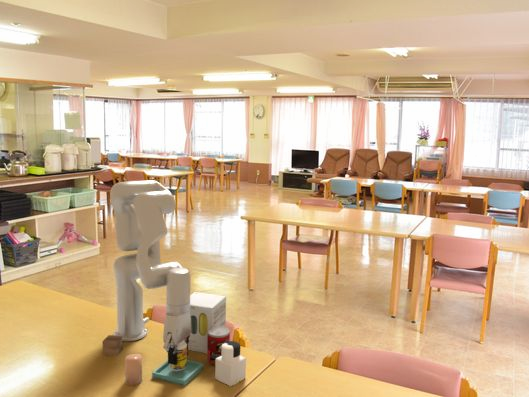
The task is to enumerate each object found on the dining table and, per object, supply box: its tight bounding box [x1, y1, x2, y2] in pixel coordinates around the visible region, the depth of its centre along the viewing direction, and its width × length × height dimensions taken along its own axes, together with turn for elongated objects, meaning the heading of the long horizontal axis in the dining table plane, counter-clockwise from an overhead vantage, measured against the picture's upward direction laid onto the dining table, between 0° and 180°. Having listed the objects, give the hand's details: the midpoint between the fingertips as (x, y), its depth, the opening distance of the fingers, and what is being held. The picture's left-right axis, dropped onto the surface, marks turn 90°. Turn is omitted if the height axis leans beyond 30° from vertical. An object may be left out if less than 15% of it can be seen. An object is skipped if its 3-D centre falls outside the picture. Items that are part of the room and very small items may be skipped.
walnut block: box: [102, 334, 123, 357], centre depth 168 cm, size 5×5×5 cm
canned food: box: [206, 326, 231, 366], centre depth 163 cm, size 8×8×11 cm
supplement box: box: [188, 291, 227, 354], centre depth 175 cm, size 13×13×18 cm
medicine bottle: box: [214, 340, 247, 387], centre depth 151 cm, size 7×7×12 cm
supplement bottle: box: [170, 339, 188, 371], centre depth 154 cm, size 6×6×10 cm
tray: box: [151, 359, 204, 387], centre depth 155 cm, size 12×12×2 cm
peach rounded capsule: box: [125, 353, 143, 386], centre depth 149 cm, size 5×5×8 cm
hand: (178, 358), depth 154 cm, fingers open, 5 cm apart
